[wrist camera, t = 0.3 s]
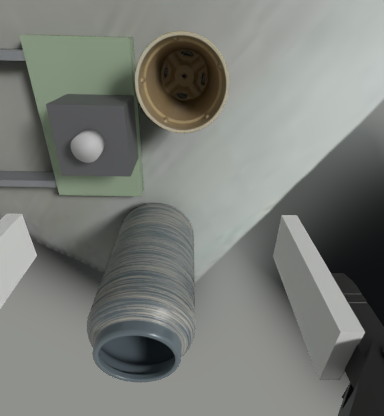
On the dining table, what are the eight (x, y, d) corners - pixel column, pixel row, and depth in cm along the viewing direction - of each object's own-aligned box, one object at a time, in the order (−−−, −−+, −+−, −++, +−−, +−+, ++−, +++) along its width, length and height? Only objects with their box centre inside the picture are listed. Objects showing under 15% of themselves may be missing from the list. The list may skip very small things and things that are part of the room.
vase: (110, 229, 48) (55, 364, 28) (150, 181, 43) (117, 303, 24) (165, 262, 52) (150, 401, 32) (207, 221, 47) (220, 354, 28)
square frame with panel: (-83, 31, 33) (-185, 30, 24) (132, 37, 34) (112, 38, 25) (-20, 185, 44) (-75, 224, 35) (143, 188, 44) (132, 228, 35)
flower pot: (160, 122, 39) (152, 143, 31) (134, 45, 34) (119, 48, 27) (227, 103, 37) (237, 120, 30) (211, 20, 33) (217, 16, 25)
